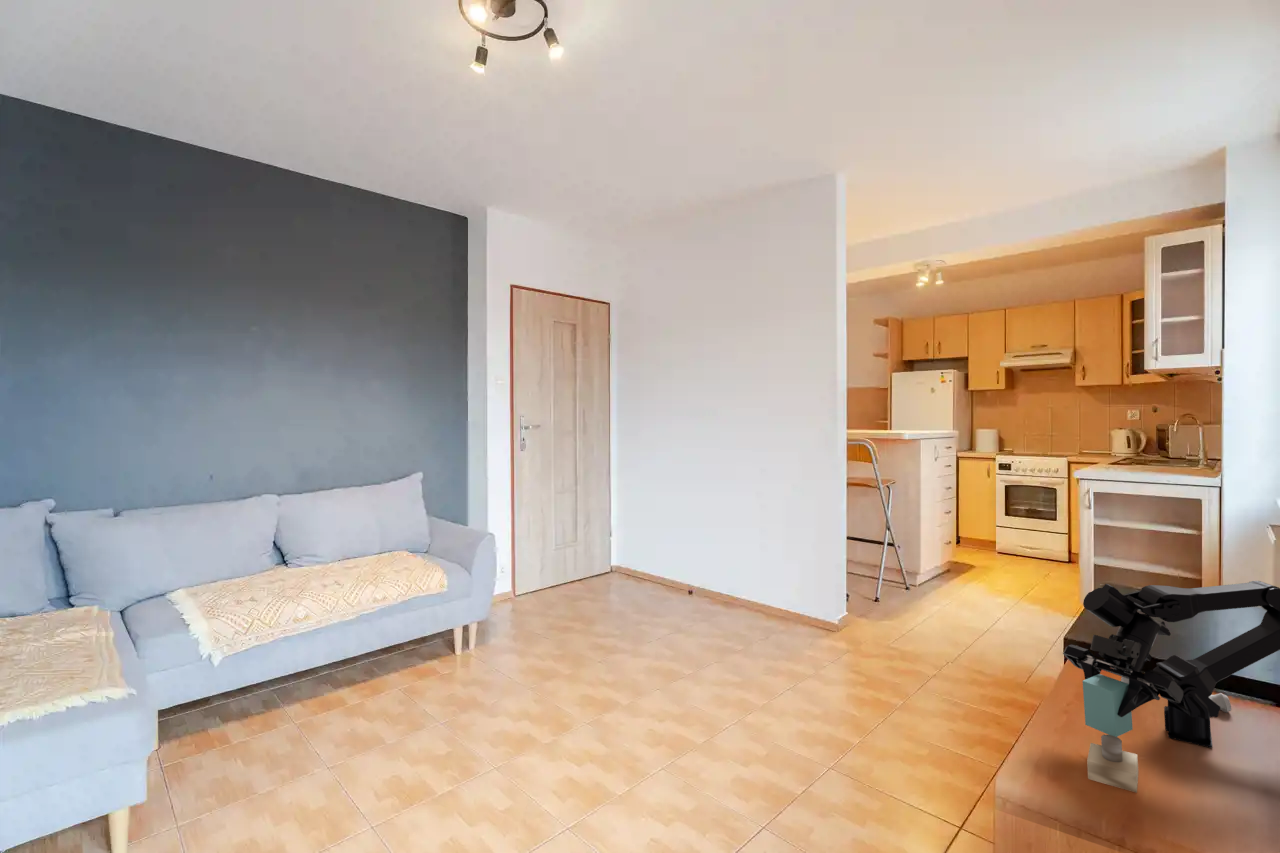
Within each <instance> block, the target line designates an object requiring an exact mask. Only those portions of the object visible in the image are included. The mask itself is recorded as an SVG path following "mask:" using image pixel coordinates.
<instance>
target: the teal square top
mask: <svg viewBox="0 0 1280 853" xmlns="http://www.w3.org/2000/svg"><path fill="white" fill-rule="evenodd" d="M1128 688H1129V684H1127V683H1124V682H1122V681H1121V680H1118V679H1115V678H1113V677H1110V676H1107V675H1104V674H1101V673H1100V674H1098V675H1095V676H1093V677H1090V678H1088V679H1085V678H1084V680H1082V692H1083V708H1084V724H1085V726H1087V727H1090V728H1092V729H1094V730H1097V731H1099V732H1102V733H1103V734H1105V735H1112V736H1115V737H1117V738H1119V737H1121V736H1122V735H1124V734H1127V733H1128V732H1131V731H1133V729H1134V728H1133V714H1132V712H1133V711H1131V712H1130V713H1128V714H1126V715H1125V716H1123V717H1120V716H1119V715H1118V710H1119V707H1120V705H1121V703H1122V701H1123V699H1124V697H1125V695H1126V693H1127V691H1128Z"/></svg>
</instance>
